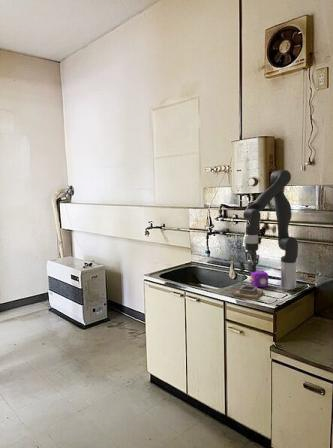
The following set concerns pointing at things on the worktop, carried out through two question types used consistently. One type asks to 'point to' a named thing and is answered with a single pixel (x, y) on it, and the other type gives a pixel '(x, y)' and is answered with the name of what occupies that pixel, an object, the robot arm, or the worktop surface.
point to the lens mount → (248, 292)
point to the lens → (250, 265)
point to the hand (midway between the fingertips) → (251, 269)
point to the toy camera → (259, 279)
